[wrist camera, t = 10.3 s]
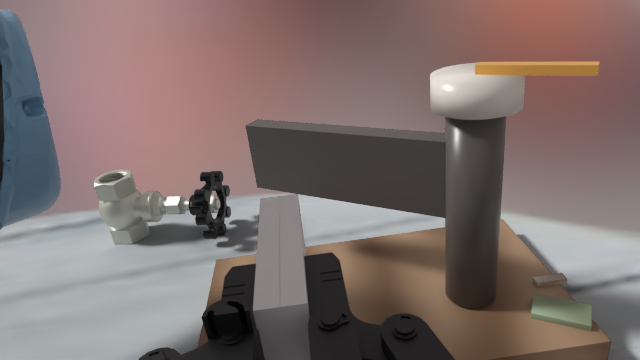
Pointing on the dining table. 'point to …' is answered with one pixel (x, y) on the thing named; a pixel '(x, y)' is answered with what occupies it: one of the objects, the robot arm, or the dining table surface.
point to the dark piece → (419, 164)
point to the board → (449, 318)
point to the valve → (157, 205)
